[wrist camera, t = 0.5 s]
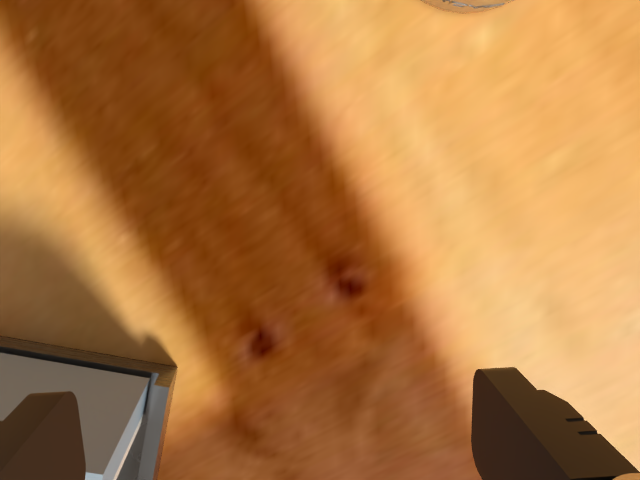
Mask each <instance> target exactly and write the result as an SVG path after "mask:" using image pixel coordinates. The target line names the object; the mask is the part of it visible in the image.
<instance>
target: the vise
mask: <svg viewBox="0 0 640 480" xmlns="http://www.w3.org/2000/svg"><path fill="white" fill-rule="evenodd" d="M0 353H5V354H11V355H17V356H23V357H28V358H34V359H40V360H46V361H52V362H58V363H63V364H69V365H75V366H81V367H87V368H93V369H98V370H104V371H110V372H116V373H122V374H127V375H133V376H139V377H145V378H150V380H149V386H148V392H147V398H146V403H145V409H144V415H143V420H142V423H141V425H140V427H139V430H138V432H137V434H136V436H135V439H134V441H133V443H132V445H131V448H130V450H129V452H128V454H127V457H126V459H125V461H124V463H123V466H122V468H121V470H120V472H119V475H118V477H117V479H116V480H157V476H158V471H159V465H160V460H161V454H162V449H163V444H164V438H165V433H166V427H167V422H168V416H169V411H170V405H171V400H172V395H173V389H174V384H175V378H176V373H177V367H174V366H168V365H162V364H157V363H151V362H145V361H139V360H134V359H128V358H122V357H117V356H111V355H105V354H100V353H94V352H88V351H82V350H77V349H71V348H65V347H60V346H54V345H48V344H42V343H37V342H31V341H25V340H20V339H14V338H8V337H2V336H0Z"/></svg>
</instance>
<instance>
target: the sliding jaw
mask: <svg viewBox="0 0 640 480" xmlns="http://www.w3.org/2000/svg"><path fill="white" fill-rule="evenodd" d="M149 380H150V378H145V377H139V376H133V375H127V374H122V373H116V372H110V371H104V370H98V369H93V368H87V367H81V366H75V365H69V364H63V363H58V362H52V361H46V360H40V359H34V358H28V357H23V356H17V355H11V354H5V353H0V421H3V420H4V419H5V418H6V417H7V416H8V415H9V414H10V413H11V412H12V411H13V410H14V409H15V408H16V407H17V406H18V405H19V404H20V403H21V402H22V401H23V400H24V398H25V397H26V396H28V395H29V394H31V393H47V392H65V391H71V392H73V393H74V394H75V396H76V399H77V403H78V409H79V416H80V424H81V431H82V439H83V446H84V454H85V462H86V475H85V480H116V479H117V477H118V475H119V472H120V470H121V468H122V466H123V463H124V461H125V459H126V457H127V454H128V452H129V450H130V448H131V445H132V443H133V441H134V439H135V436H136V434H137V432H138V430H139V427H140V425H141V423H142V420H143V415H144V409H145V403H146V398H147V392H148V386H149Z"/></svg>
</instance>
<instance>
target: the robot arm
mask: <svg viewBox="0 0 640 480" xmlns="http://www.w3.org/2000/svg"><path fill="white" fill-rule="evenodd" d="M421 1H423V2H424V3H426V4H428V5H431V6H433V7H436V8H438V9H441V10H443V11H450V12H457V13H474V12H483V11H487V10H490V9H493V8H496V7H499V6H502V5H504V4H507V3H509V2H511V1H514V0H421ZM471 442H472V452H473V457H474V461H475V465H476V467H477V470H478V472H479V474H480V476H481V478H482V479H483V480H640V472H639V471H638V470H637V469H636V468H635V467H634V466H633V465H632V464H631V463H630V462H629V461H628V460H627V459H626V458H625V457H624V456H623V455H621V454H620V453H619V452H618V451H617V450H616V449H615V448H614V447H613V446H612V445H611V444H610V443H609V442H608V441H607V440H606V439H605V438H604V437H603V436H602V435H601V434H597V430H596V429H595V428H594V427H593V426H592V425H591V424H590V423H589V422H587V421H584V418H583V417H582V416H581V415H580V414H579V413H578V412H577V411H576V410H575V409H574V408H573V407H572V406H571V405H570V404H569V403H568V402H566V401H564V400H562V399H560V398H559V397H557V396H555V395H553V394H551V393H549V392H547V391H545V390H537V389H536V388H535V387H534V386H533V385H532V384H531V383H530V382H529V381H528V380H527V379H526V378H525V377H524V376H523V375H522V374H521V373H520V372H519V371H518V370H517V369H516V368H514V367H509V368H491V369H478V370H476V372H475V375H474V380H473V405H472V435H471ZM85 475H86V462H85V454H84V446H83V439H82V431H81V424H80V416H79V409H78V403H77V399H76V396H75V394H74V393H73V392H71V391H65V392H47V393H31V394H29V395H28V396H26V397H25V398H24V400H23V401H22V402H21V403H20V404H19V405H18V406H17V407H16V408H15V409H14V410H13V411H12V412H11V413H10V414H9V415H8V416H7V417H6V418H5V419H4V420H3V421H0V480H85Z"/></svg>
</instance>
